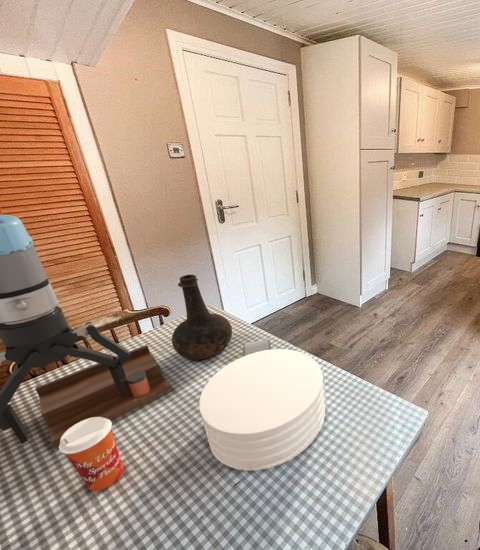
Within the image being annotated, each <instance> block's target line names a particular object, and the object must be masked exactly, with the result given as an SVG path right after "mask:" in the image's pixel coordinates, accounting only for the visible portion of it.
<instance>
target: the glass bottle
mask: <svg viewBox="0 0 480 550" xmlns="http://www.w3.org/2000/svg"><path fill="white" fill-rule="evenodd" d="M198 280H199V279H198V278H197V275H196V274H186V275H182V276H181V277H179V282H178V284H177V286H178V287H180V288H181V290H182V293H183V300H184V304H185V311H186V319H184V320H183V321H181V323H180V322H179V324H178V325H177V326H176V327H175V329H174V331H173V333H172V336H171V344H172V348H173V349H174V351H175V352H176V353H177V354H178V355H180V356H181V357H183V358H186V359H189V360H193V361H200V360H207V359H210V358H213V357H215V356H217V355H219V354H220V353H221V352H222V351H224V350H225V349H226V348H227V347H228V345H229V344H230V342H231V339H232V336H233V328H232V324H231V323H230V321H229V320H228V319H227V318H226V317H224V316H223V315H221V314H218V313H211V312H210V310H209V309H208V308H207V305H206V303H205V301H204V298H203V296H202V293H201V290H200V286H199V284H198Z"/></svg>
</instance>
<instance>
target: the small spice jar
mask: <svg viewBox="0 0 480 550" xmlns="http://www.w3.org/2000/svg"><path fill="white" fill-rule="evenodd" d="M126 380H127V382H128V384H129V386H130V389H131V392H132V394H133V396H134V397H140V396H143V395H145V394H147V393H148V392H149V391H150V389H151V388H150V385H149V382H148V379H147V375H146V372H145V371H136V372H133V373H131V374H130V375H129V376H128V377H127V378H126Z"/></svg>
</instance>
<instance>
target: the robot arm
mask: <svg viewBox="0 0 480 550" xmlns="http://www.w3.org/2000/svg"><path fill="white" fill-rule="evenodd" d="M59 303H60V302H59V299H58V297H57V295H56V292H55V291H54V288H53V286H52V284H51V282H50V281H49V277H48V275H47V273H46V270H45V269H44V266H43V264H42V261H41V259H40V256H39V254H38V251H37V249H36V246H35V244H34V240H33V237H32V236H31V235H30V234H29V233H28V231H27V229H26V227H25V225H24V224H23V221H22V220H21V219H20V218H19V217H17V216H15V215H11V214H0V340H1V342H2V344H3V346H4V348H5V351H1V352H0V367H2V363H3V362H5V361H6V360H7V361H9V362H12V363H15V367H14V369H13V371H12V372H11V373H10V375H9V377H8V379H7V380H6V381H5V383H4V384H3V385H2V387H1V389H0V430H1V431H3V432H4V431H7V430H9V429H12V431H13V433H14V434H15V437H17V439H18V441H19V442H20V444H21V445H23V444H25V443H28V442H29V436H28V435H29V434H28V431H27V430H26V427H25V426H24V424H23V423H22V421H21V418H19V416H18V414H17V413H16V410H15V408H14V407H13V405H12V404H11V403H10V402H11V400H12V398H13V397H14V395H15V394H16V392H17V391H18V389H19V388H20V385H21V384H22V383H23V381H24V379H25V378H26V377H27V376H28V375H29V373H30V372H31V370H32V368H33V369H37V368H38V369H42V368H45V367H47V366H48V365H51V364H53V363H58V362H61V361H64V360H65V359H66V358H67V357H68V356H69V357H73V358H76V359H79V358H80V359H84V360H87V361H91V362H93V363H96V364H98V363H101V364H104V365H107V366H108V368H109V371H110V373H111V376H112V378H113V381H114V383H115V385H116V388H117V390H118V392H119V394H120V396H121V398H122V397H124V396H126V395H125V393H124V390H123V388H122V385H121V383H120V380H123V379H125V378H126V375H125V372H124V369H123V367H122V364H123V363H124V362H125V361H126V360H130V359H131V355H130V353H129V352H130V351H129V350H128V349H127V348H125V347H123V346H122V345H120V344H119V343H117V342H115V341H114V340H112V339H111V338H110V337H108V336H107V335H105V334H103V333H102V332H100V331H99V330H98V329H97V327H96V325H95V324H94V322H92V321H87V322H85V323H84V326H81V327H79V328H76V329H73V328H71V327H70V325H69V323H68V321H67V318H66V316H65V313H64V311H63V309H62V308H61V306H58V305H59ZM78 337H83V338H85V339H90V338H91V339H92V340H93V341H94V342H95V343H97V344H98V345H100V346H102V348H105V349H106V350H108V351H110V352H111V353H113V354H115V355H116V356H115V355H112V354H108V353H105V352H102V351H99V350H96V349H92V348H90V347H86V346H83V345H82V344H80V343H77V342H76V341H77V339H78Z"/></svg>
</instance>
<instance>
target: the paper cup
mask: <svg viewBox="0 0 480 550" xmlns="http://www.w3.org/2000/svg"><path fill="white" fill-rule="evenodd" d="M112 425H113V421H110V420H108V419H106V418H102V417H92V418H88V419H85V420H83V421H81V422H79V423H77V424H75V425H74V426H72V427H71V428H69V429H68V430H67V431H66V432H65V433H64V434H63V436H62V437H61V439H60V445H59V447H58V450H59V452H60V453H61V454H64V455H65V456H66V457H67V459H68V461H69V462H70V463H71V465H72V466H73V468H74V469H75V471H76V472H77V474H78V475H79V476H80V478H81V479H82V481H83V482H84V484H85V485H86V486H87V488H88V489H89V490H90V491H92V492H99V491H104V490H105V489H107V488H109V487H111V486H112V485H114V484H115V483H116V482H117V481H118V480H119V479H120V478H121V476H122V475H123V473H124V465H123V462H122V461H123V460H122V459H121V455H120V451H119V449H118V447H117V443H116V440H115V437H114V434H113V430H112Z"/></svg>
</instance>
